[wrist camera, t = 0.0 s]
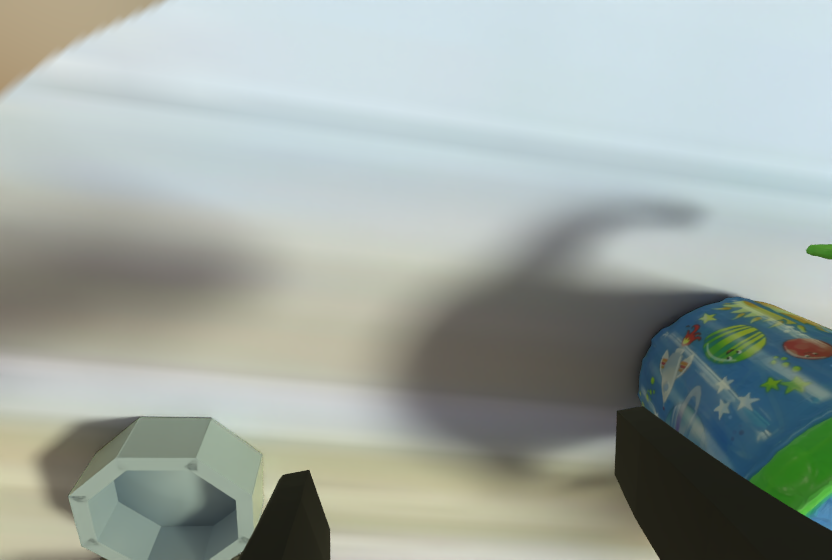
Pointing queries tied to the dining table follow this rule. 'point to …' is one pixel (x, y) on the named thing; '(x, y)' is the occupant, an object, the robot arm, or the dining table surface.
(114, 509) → the grey octagonal bowl
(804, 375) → the snack cup
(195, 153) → the dining table surface
